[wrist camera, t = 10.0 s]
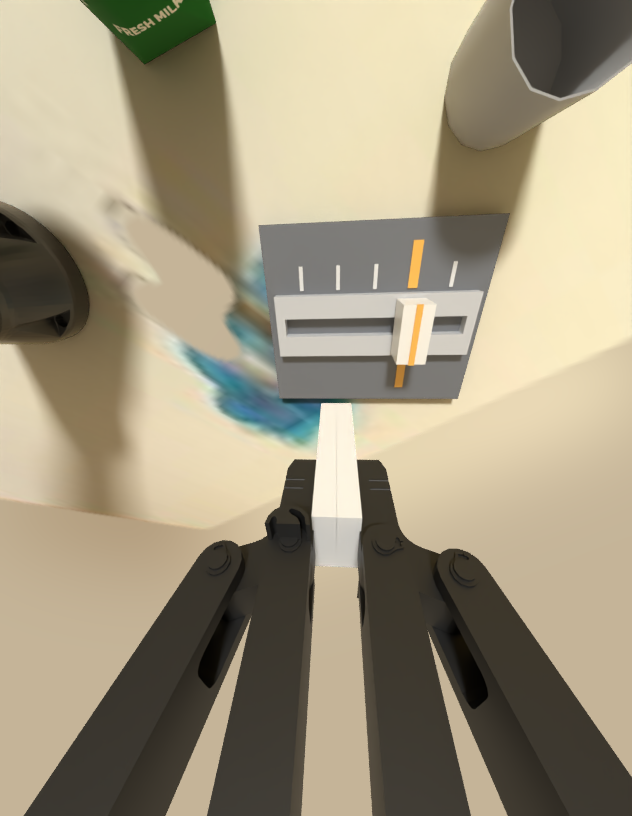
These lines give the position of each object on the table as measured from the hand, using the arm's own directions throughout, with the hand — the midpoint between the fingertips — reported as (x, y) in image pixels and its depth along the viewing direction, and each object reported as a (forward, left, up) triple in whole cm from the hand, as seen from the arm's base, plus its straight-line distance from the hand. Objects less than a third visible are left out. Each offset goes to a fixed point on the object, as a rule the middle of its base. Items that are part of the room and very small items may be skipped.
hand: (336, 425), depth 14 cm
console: (+4, 0, -22) cm, 22 cm away
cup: (+13, +19, -22) cm, 32 cm away
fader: (+8, 0, -20) cm, 22 cm away
